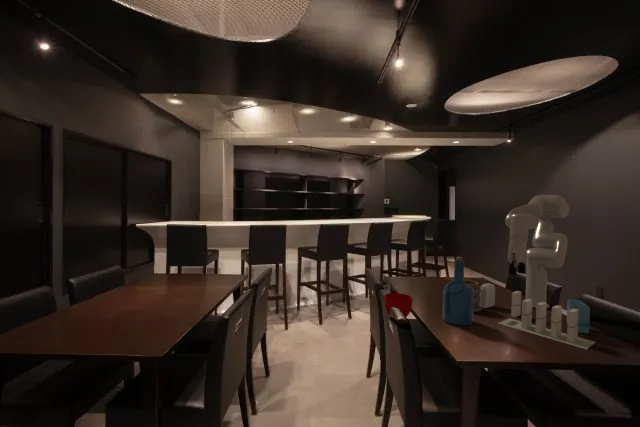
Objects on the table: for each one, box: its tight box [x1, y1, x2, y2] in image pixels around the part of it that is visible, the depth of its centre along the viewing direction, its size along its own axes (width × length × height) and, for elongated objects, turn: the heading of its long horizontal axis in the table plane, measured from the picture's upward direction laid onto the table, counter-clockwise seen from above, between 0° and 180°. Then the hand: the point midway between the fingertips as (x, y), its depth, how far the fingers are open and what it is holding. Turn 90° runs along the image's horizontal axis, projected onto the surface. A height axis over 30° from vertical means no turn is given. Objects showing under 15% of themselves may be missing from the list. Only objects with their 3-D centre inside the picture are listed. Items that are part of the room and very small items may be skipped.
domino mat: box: [497, 318, 596, 350], centre depth 135 cm, size 12×32×1 cm, turn 36°
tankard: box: [443, 275, 483, 313], centre depth 170 cm, size 20×13×15 cm, turn 35°
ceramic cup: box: [383, 292, 414, 318], centre depth 152 cm, size 13×17×10 cm
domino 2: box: [520, 298, 533, 329], centre depth 140 cm, size 6×2×12 cm, turn 126°
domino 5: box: [566, 309, 579, 343], centre depth 127 cm, size 6×2×12 cm, turn 126°
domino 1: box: [510, 290, 522, 318], centre depth 156 cm, size 6×2×12 cm, turn 126°
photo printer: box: [479, 283, 496, 309], centre depth 171 cm, size 10×4×12 cm, turn 123°
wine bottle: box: [441, 256, 475, 327], centre depth 146 cm, size 14×13×30 cm
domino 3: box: [535, 302, 548, 333], centre depth 136 cm, size 6×2×12 cm, turn 126°
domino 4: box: [550, 304, 563, 338], centre depth 132 cm, size 6×2×12 cm, turn 126°
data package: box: [566, 298, 591, 335], centre depth 140 cm, size 12×4×12 cm, turn 158°
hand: (517, 273), depth 155 cm, fingers open, 9 cm apart
